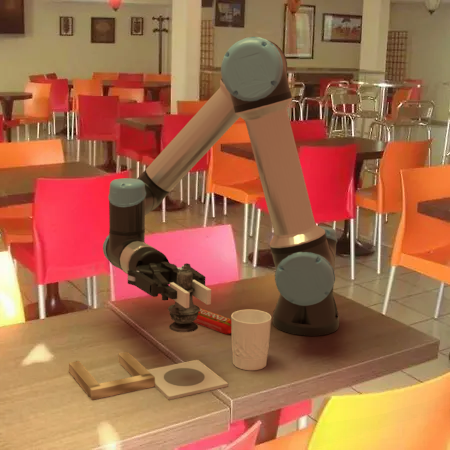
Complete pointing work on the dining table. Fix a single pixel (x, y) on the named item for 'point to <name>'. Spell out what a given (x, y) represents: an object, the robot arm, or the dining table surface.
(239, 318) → the white cup
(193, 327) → the salt shaker
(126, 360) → the block
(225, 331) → the candy bar
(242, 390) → the dining table surface
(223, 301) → the dining table surface
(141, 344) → the dining table surface
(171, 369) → the cream square board
